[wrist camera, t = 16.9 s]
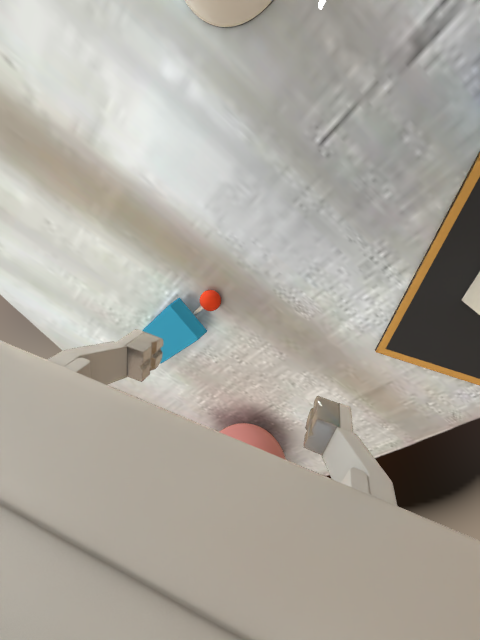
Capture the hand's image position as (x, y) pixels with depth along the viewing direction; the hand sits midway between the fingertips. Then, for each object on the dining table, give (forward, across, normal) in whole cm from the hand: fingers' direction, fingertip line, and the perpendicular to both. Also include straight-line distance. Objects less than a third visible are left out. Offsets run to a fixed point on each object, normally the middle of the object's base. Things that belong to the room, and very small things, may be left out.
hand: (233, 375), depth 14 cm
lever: (+29, +16, +16) cm, 37 cm away
